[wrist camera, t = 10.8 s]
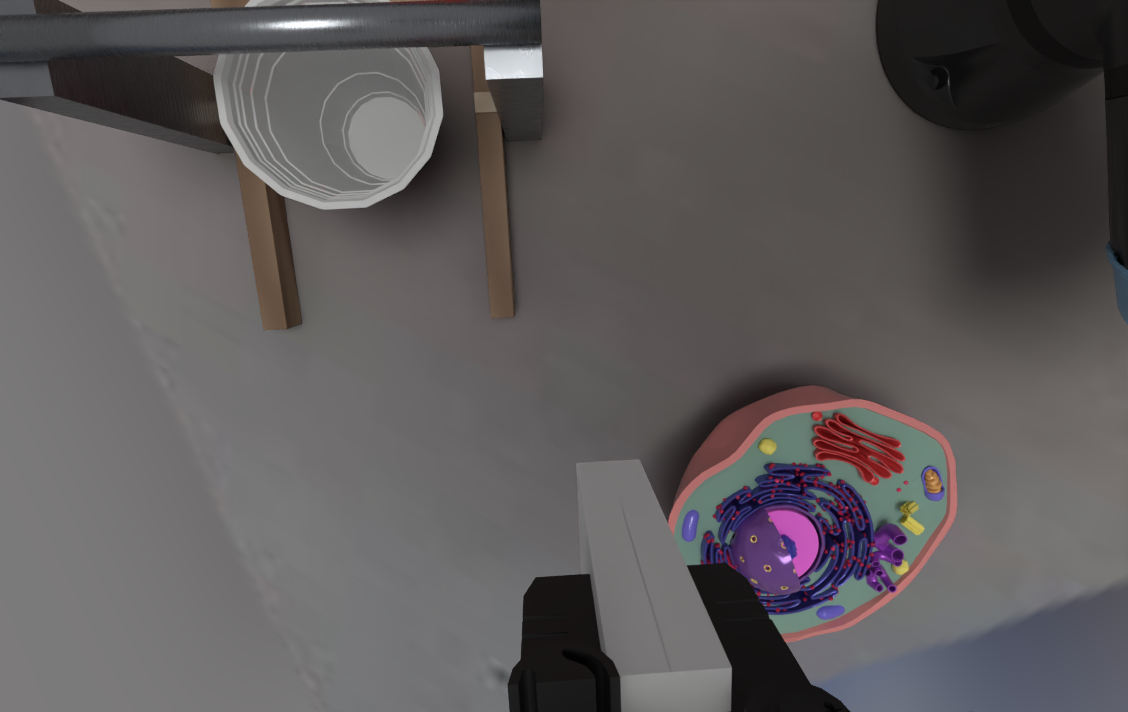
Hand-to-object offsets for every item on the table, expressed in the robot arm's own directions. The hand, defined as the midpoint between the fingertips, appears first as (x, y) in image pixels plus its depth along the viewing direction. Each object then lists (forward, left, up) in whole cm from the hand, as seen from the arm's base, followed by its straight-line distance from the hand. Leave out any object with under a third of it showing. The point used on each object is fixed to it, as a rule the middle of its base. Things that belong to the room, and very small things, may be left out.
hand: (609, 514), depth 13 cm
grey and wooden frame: (+12, -12, -29) cm, 34 cm away
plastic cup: (+11, -14, -30) cm, 34 cm away
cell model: (-16, +13, -30) cm, 36 cm away
